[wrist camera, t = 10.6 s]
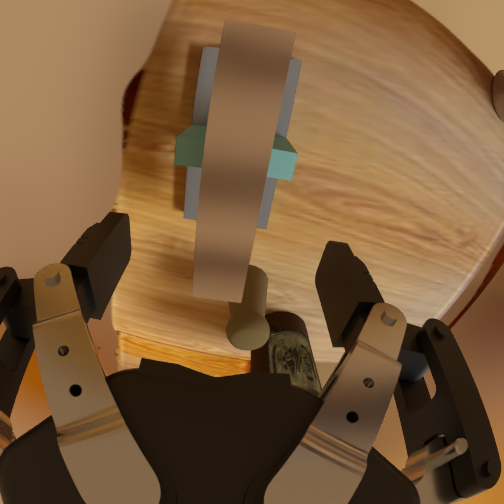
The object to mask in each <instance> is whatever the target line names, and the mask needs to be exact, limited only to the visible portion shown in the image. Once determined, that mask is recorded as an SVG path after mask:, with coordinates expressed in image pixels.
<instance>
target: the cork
mask: <svg viewBox="0 0 504 504" xmlns="http://www.w3.org/2000/svg"><path fill="white" fill-rule="evenodd" d="M267 286H268V278H267V276H266V273H265V272H264V271H263V270H262V269H260V268H258V267H255V266H251V265H249V266H248V271H247V276H246V281H245V286H244V291H243V296H242V301H241V303H237V302H229V307H230V314H231V319H230V320H229V322H228V325H227V328H226V333H227V338H228V340H229V341H230V343H231V344H232V345H233V346H234V347H236V348H238V349H241V350H254V349H258V348H260V347H262V346H263V345H264V344H265V343H266V342H267V340H268V338H269V335H270V328H269V324H268V322H267V320H266V318H265V308H266V297H267Z"/></svg>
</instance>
